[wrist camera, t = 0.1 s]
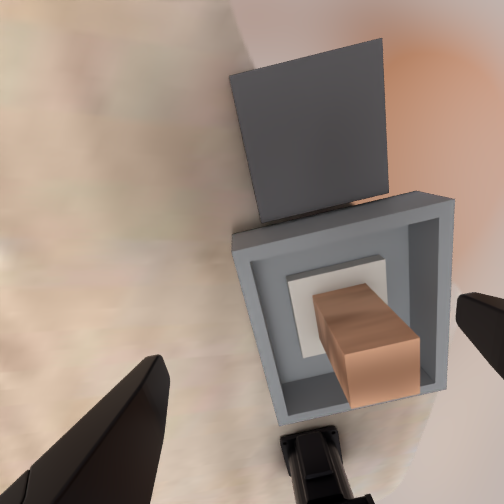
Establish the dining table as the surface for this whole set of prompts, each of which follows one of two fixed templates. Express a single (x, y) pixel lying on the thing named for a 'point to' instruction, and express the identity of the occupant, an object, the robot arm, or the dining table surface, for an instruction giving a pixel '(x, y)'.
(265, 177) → the mat
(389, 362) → the block
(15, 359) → the dining table surface
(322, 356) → the crate
